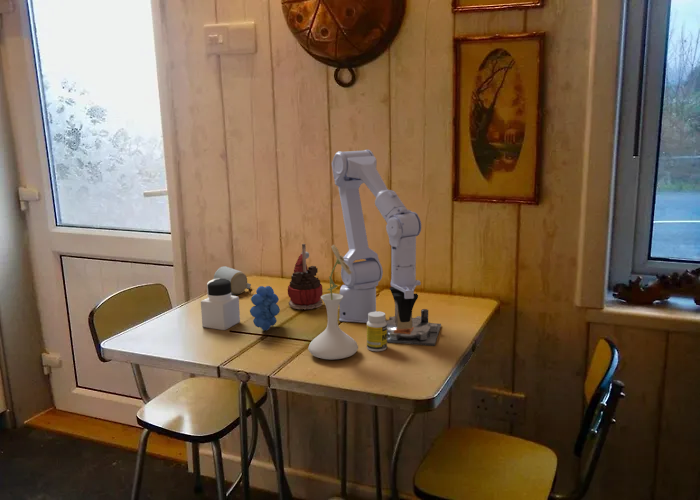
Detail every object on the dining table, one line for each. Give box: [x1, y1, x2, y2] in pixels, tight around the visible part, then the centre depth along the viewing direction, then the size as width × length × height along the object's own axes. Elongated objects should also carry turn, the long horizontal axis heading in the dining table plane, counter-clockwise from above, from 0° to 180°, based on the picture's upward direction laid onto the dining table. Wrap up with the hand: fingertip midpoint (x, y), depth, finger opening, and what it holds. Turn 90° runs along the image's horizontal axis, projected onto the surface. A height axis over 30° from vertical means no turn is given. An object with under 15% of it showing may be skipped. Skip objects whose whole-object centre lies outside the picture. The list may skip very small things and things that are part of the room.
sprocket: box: [387, 308, 438, 340], centre depth 161 cm, size 14×15×4 cm
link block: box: [394, 301, 413, 329], centre depth 156 cm, size 4×4×6 cm
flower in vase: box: [307, 244, 359, 361], centre depth 147 cm, size 13×11×25 cm
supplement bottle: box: [366, 310, 388, 352], centre depth 151 cm, size 5×5×8 cm
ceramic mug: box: [212, 265, 252, 295], centre depth 198 cm, size 11×8×8 cm
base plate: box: [385, 319, 442, 347], centre depth 161 cm, size 15×14×1 cm
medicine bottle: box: [200, 279, 241, 331], centre depth 169 cm, size 7×7×12 cm
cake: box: [287, 243, 324, 310], centre depth 182 cm, size 11×9×18 cm
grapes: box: [249, 285, 281, 331], centre depth 163 cm, size 12×7×12 cm, turn 155°
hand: (403, 318), depth 156 cm, fingers closed on link block, 3 cm apart
